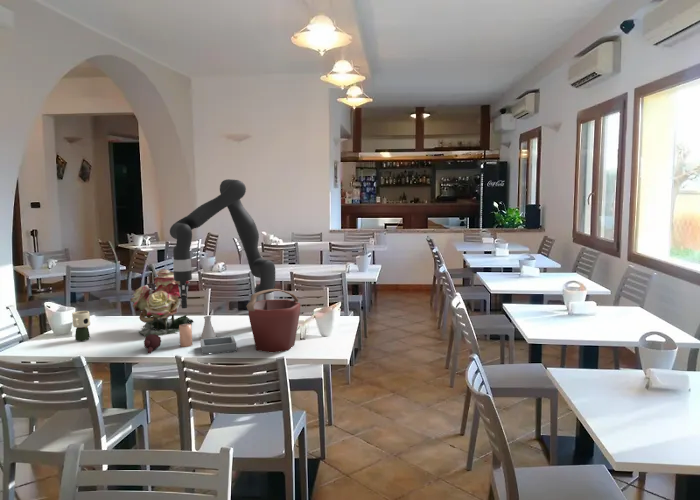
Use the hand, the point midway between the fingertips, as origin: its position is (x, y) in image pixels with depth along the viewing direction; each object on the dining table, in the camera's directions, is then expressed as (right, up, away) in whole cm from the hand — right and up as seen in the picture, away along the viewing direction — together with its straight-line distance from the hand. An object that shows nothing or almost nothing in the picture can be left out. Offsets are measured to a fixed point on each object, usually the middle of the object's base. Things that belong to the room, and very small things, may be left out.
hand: (184, 306), depth 249 cm
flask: (+7, -16, +14) cm, 22 cm away
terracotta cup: (0, -17, +2) cm, 18 cm away
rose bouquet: (-18, -15, +29) cm, 37 cm away
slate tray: (+16, -18, -5) cm, 24 cm away
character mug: (-50, -17, +13) cm, 54 cm away
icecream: (-13, -19, -3) cm, 23 cm away
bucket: (+39, -18, -2) cm, 43 cm away
